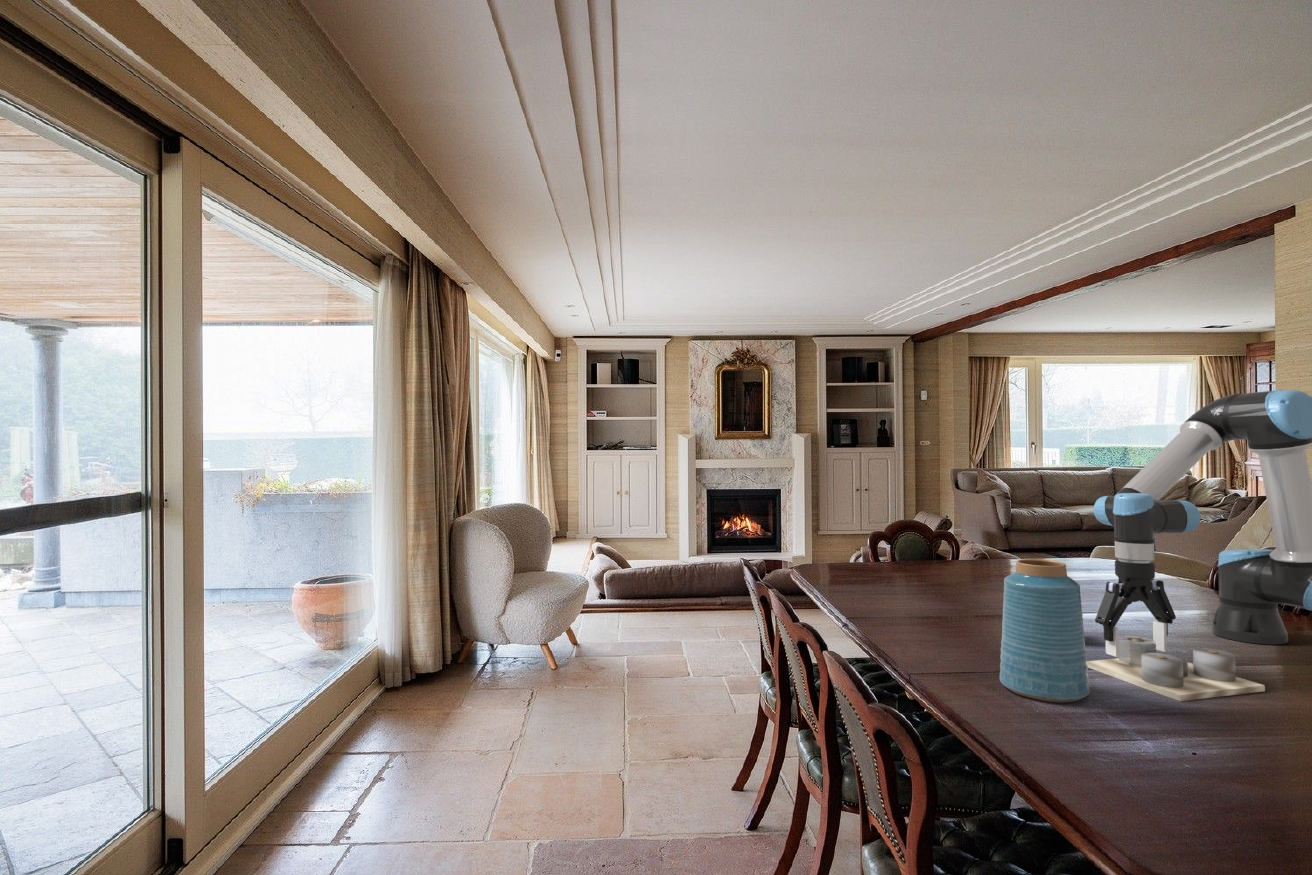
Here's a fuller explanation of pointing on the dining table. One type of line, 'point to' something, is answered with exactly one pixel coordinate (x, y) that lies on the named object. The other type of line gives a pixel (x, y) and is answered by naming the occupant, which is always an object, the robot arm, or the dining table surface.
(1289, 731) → the dining table surface
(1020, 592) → the vase
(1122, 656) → the octagonal tube
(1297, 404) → the robot arm
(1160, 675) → the carrier
